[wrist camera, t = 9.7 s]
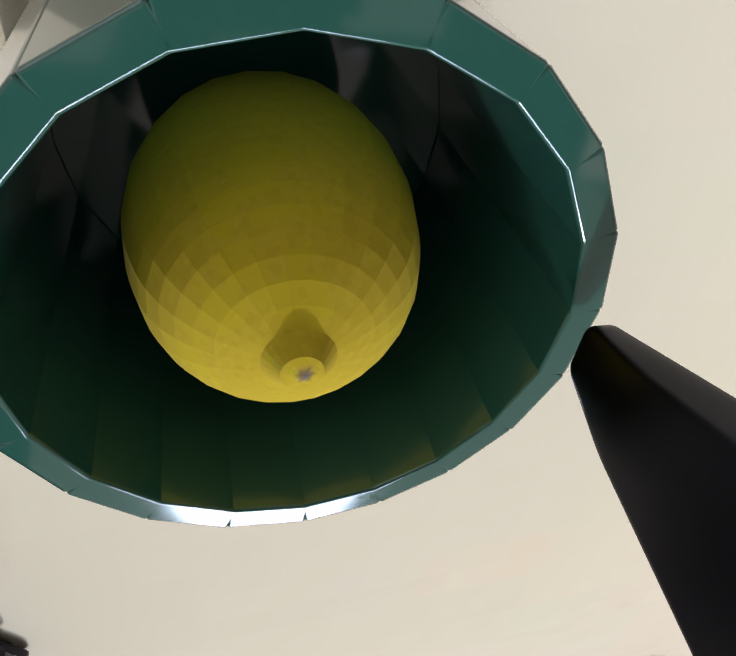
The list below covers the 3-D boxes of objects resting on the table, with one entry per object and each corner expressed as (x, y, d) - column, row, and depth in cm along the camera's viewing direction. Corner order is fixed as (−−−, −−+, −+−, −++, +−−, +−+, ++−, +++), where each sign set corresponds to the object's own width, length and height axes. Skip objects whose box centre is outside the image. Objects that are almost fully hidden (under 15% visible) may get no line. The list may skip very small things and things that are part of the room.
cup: (194, 338, 20) (203, 581, 14) (-96, 26, 13) (-314, 257, 7) (497, 187, 19) (645, 386, 13) (359, -244, 12) (545, -233, 6)
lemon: (311, 258, 18) (377, 500, 12) (105, 199, 16) (65, 468, 10) (406, 77, 15) (549, 281, 9) (172, -33, 13) (171, 155, 7)
